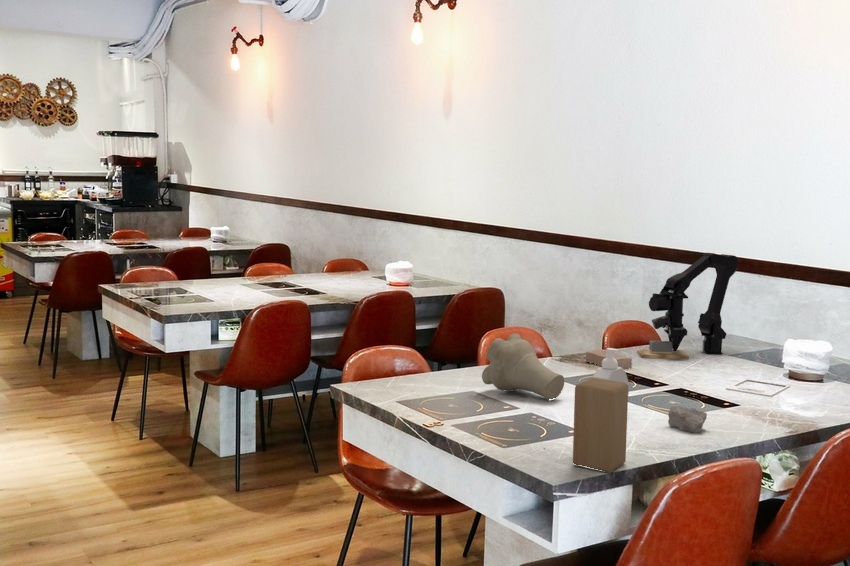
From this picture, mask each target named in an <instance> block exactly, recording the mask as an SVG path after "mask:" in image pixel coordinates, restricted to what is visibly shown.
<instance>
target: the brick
mask: <svg viewBox="0 0 850 566" xmlns="http://www.w3.org/2000/svg"><path fill="white" fill-rule="evenodd" d="M606 353H607V349H606V350H605V349H602V348H601V349H599V348H598V349H594V350H589V351H586V352H585V362H586V361H587V362H591V363H594V364H597V365H600V366H599V367H601V366H602V361H603V359H604V358H606ZM614 359H616V360H617V362H618V367H622V368H623V370H630V369H632V368H633V367H632V365H633V362H632V360H633V358H632V357H630V356H626V355H622V354H616V352H614ZM587 362H586V363H587ZM594 364H593V365H594ZM597 365H596V366H597ZM629 368H630V369H629Z"/></svg>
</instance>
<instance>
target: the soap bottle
mask: <svg viewBox="0 0 850 566" xmlns="http://www.w3.org/2000/svg"><path fill="white" fill-rule="evenodd" d="M606 351H607V353H606V358H604V359H603V361H602V367H601V366H599V367H598V368H596V370H595V372H594V374H593V375H592V377H591V378H597V379H604V380H611V381H617V382H624V383H626V384H628V385H629V380H628V376H627V373H626V371H625V369H623V368H622V367H618V362H617V360H616V359H614V353H620V351H621V349H618V348H612V347H607V348H606ZM629 390H630V388H628V394H630V393H629Z"/></svg>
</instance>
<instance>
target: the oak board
mask: <svg viewBox="0 0 850 566" xmlns="http://www.w3.org/2000/svg"><path fill="white" fill-rule="evenodd" d="M636 353H637V355H639V357H640V359H641V358H642V359H673V360H674V359H677V360H680V359H682V360H683V359H684V360H690V355H689V354H688V353H687V352H686V351H685V350H683V349H677V351H673V353H672V354H664V353H651V352H650V351H649V348H648V349H645V348H643V349H641V348H637V349H636Z"/></svg>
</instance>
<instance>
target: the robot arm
mask: <svg viewBox="0 0 850 566" xmlns="http://www.w3.org/2000/svg"><path fill="white" fill-rule="evenodd" d="M712 265H715V266H714V269H715V270H714V271H715V273H716V277H715V281H714V285H713V288H712V290H711V291H712V292H711V296H710V300H709V304H708V307H707V310H706V311H705V312H704V313H702V312H701V313H700V315H699V319H698V321H697V323H698V329H699V331H700V334H701V336H703V340H702V352H704V353H705V354H706V355H712V354H713V355H723V354H724V352H723V351H722V349H723V340H725V339H726V337H727V332H726V331H725V330H724V329H723V327H722V322H723V321H722V317H721V311H722V309H723V308H722V307H723V304H724V301H725V296H726V294H727V289H728V285H729V283H730V282H729V281H730V279H731V277H733V275H734V274H735V273H736V271H737V269H738V267H739V259H738V257H737V256H736V255H732V254H723V253H722V254H716V253H715V252H713V253H712V252H705V253H704V254H703V255H702V256H701V257H700V258H699V259H697V260H696V261H695V262H694V263H692V264H691V265H690V266H689V267H687V268H686V269H685V270H684V271H682V272H680V273H677V274H673V275H672V276H670V277H668V278H667V279H666V281H665V284H664V286H663V288H662V289H661V290H660V292H659V293H654V292H653V293H652V296H650V299H649V301H648V307H649V310H650V311H651V312H664V311H666V312H665V313H664V315H663V316H659V317H656V318H654V319H651V323H652V326H653V329H654V330H658V329H659V330H660V328H662V329H663V331H664V332H665V333H666V334H667V337H668V341H671V342H672V345H673V351H677V350H679V349H678V348H679V346H680V344H681V343H682V341H683V340H684V338H685V337H686V336H688V329H686V328H685V327H684V323H683V317H684V316H685V315H684V312H683V310H684V309H683V308H684V300H685V299H689V296H688V295H687V294H686V293H685V292H686V291H687V289H688V288H690V285H691V283H692V282H693V281H694V279H696V278H697V277H698V276H700V275H701V274H702V273H703V272H704V271H706V270H707V269H708V268H709V267H711V266H712Z"/></svg>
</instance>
